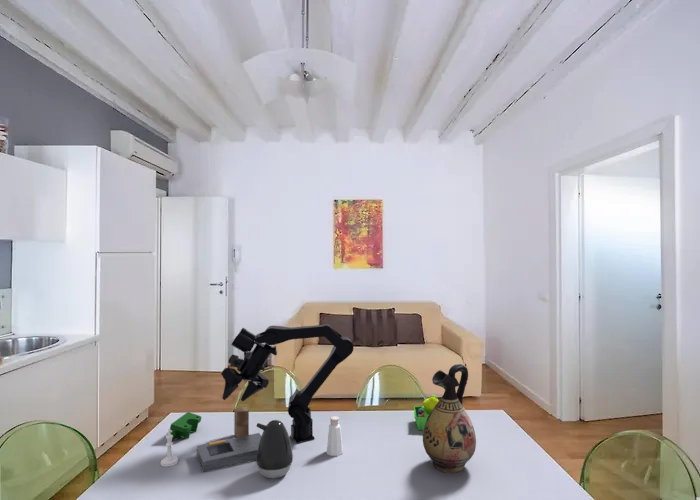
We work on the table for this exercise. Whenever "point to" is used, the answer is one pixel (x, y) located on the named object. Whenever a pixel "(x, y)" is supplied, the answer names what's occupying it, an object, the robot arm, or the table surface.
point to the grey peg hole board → (237, 452)
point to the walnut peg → (241, 422)
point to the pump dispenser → (274, 450)
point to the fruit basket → (424, 411)
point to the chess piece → (169, 452)
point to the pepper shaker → (334, 438)
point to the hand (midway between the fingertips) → (232, 399)
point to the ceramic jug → (449, 424)
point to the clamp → (185, 425)
